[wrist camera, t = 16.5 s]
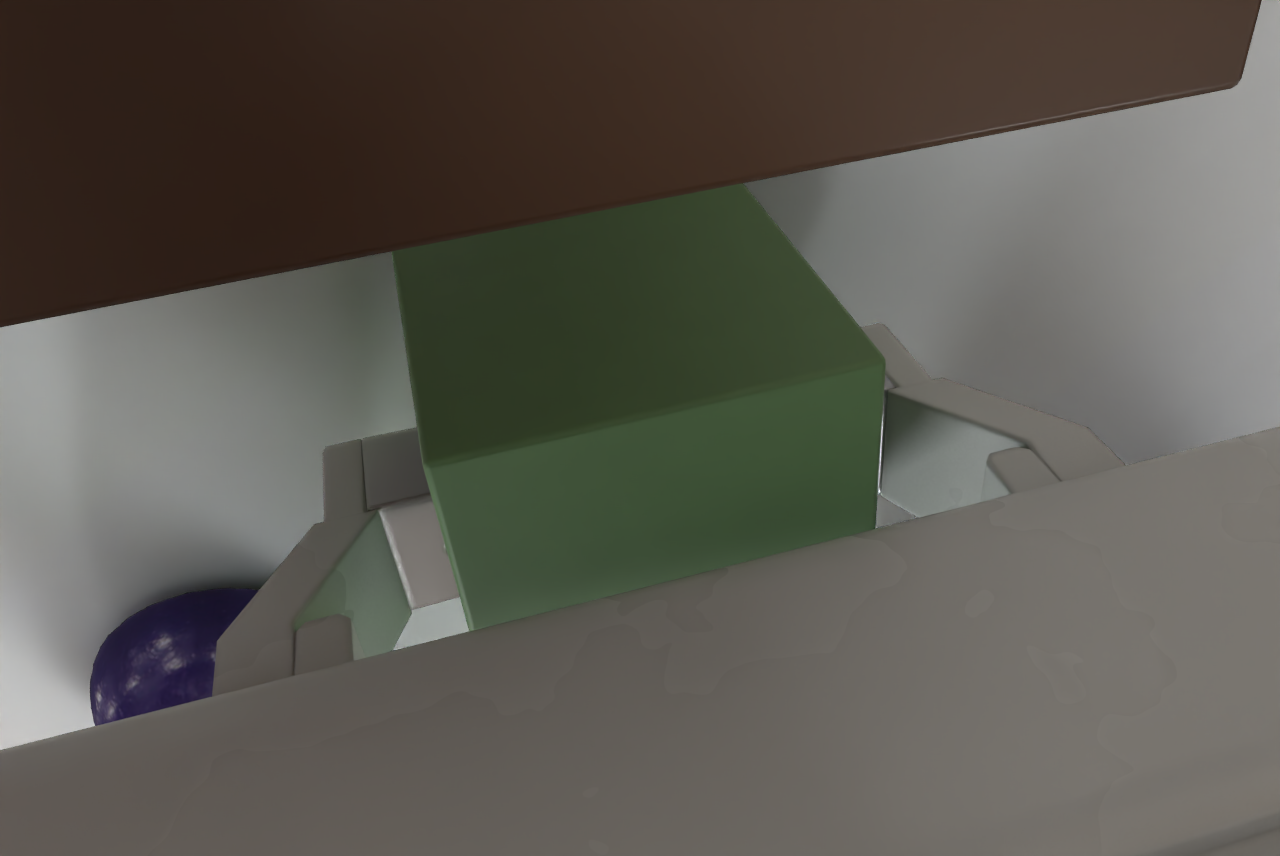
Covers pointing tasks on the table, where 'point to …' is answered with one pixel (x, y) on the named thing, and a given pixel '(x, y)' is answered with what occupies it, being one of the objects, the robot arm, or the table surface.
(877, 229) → the table surface
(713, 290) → the green toy block
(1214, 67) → the chest lid
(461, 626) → the table surface
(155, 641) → the toy lamp
